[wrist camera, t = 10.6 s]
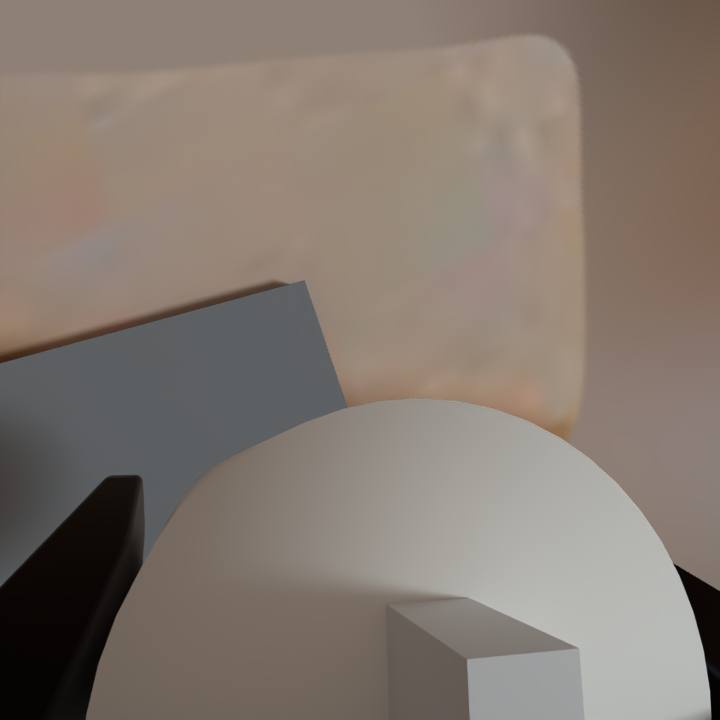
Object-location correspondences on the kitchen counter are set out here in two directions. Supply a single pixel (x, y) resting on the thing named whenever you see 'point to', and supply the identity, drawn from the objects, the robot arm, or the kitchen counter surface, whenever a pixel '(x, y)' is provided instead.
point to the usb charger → (405, 583)
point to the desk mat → (154, 408)
